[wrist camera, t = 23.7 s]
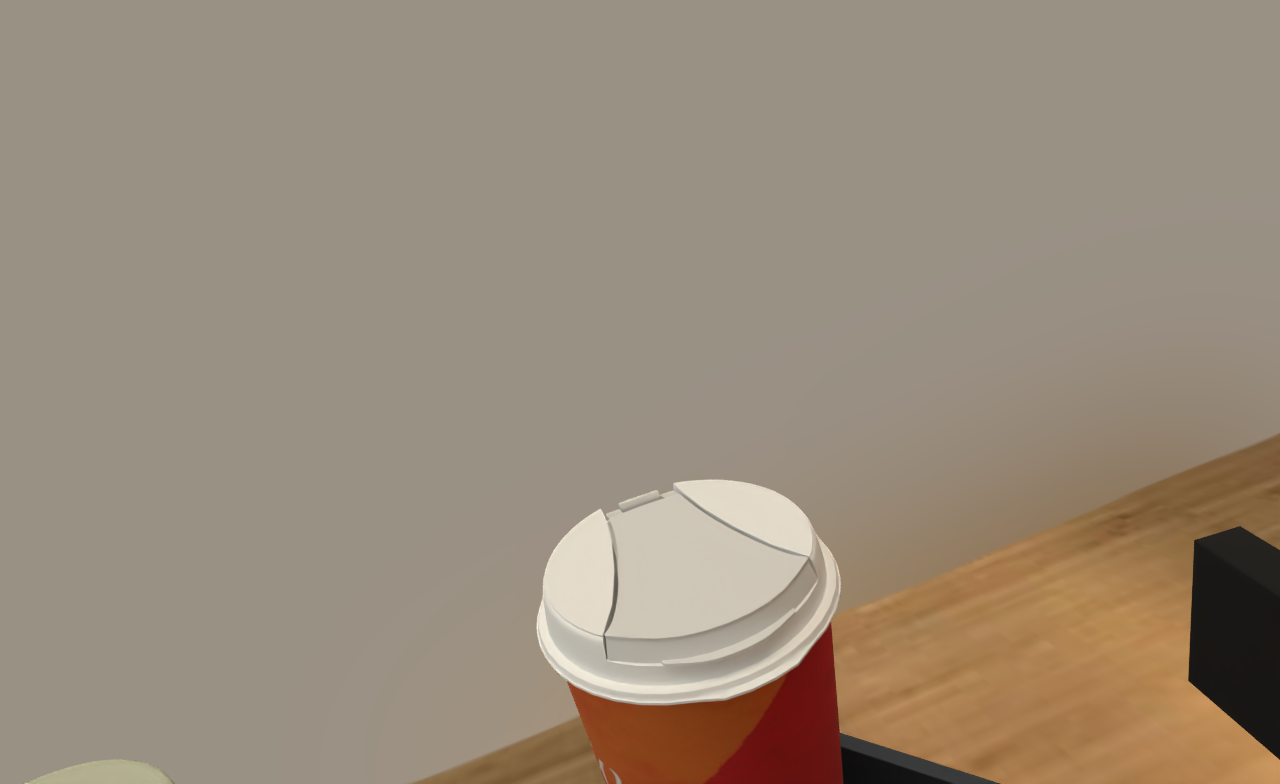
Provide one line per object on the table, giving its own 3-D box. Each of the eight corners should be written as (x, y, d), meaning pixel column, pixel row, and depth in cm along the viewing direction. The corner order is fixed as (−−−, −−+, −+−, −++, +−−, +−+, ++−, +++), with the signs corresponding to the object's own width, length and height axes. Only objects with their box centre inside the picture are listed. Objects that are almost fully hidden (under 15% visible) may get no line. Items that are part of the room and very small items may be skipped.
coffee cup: (609, 875, 31) (500, 528, 26) (810, 785, 33) (750, 442, 27) (692, 1123, 24) (565, 711, 18) (947, 990, 26) (905, 576, 20)
